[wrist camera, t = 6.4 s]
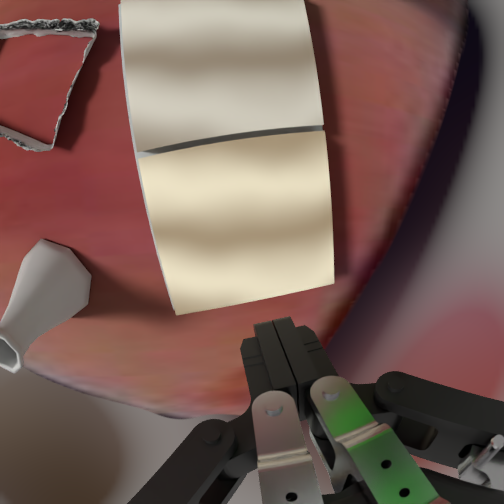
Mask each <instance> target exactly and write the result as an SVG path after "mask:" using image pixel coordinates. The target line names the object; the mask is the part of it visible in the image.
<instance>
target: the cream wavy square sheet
mask: <svg viewBox="0 0 504 504" xmlns="http://www.w3.org/2000/svg"><path fill="white" fill-rule="evenodd" d="M138 161H139V167H140V172H141V177H142V182H143V187H144V192H145V197H146V202H147V206H148V211H149V215H150V220H151V224H152V228H153V232H154V237H155V241H156V245H157V249H158V252H159V256H160V260H161V264H162V268H163V271H164V275H165V279H166V282H167V286H168V289H169V293H170V296H171V299H172V303H173V306H174V309H175V313H176V315H181V314H187V313H193V312H198V311H204V310H209V309H215V308H220V307H225V306H231V305H236V304H241V303H246V302H251V301H256V300H261V299H266V298H271V297H275V296H280V295H285V294H289V293H294V292H298V291H303V290H307V289H312V288H316V287H321V286H325V285H329V284H333V283H334V249H333V224H332V206H331V191H330V178H329V167H328V156H327V146H326V137H325V131H313V132H300V133H289V134H279V135H270V136H261V137H253V138H246V139H238V140H232V141H225V142H219V143H213V144H207V145H201V146H196V147H190V148H185V149H180V150H175V151H170V152H166V153H161V154H156V155H152V156H148V157H143V158H139V159H138Z"/></svg>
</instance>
